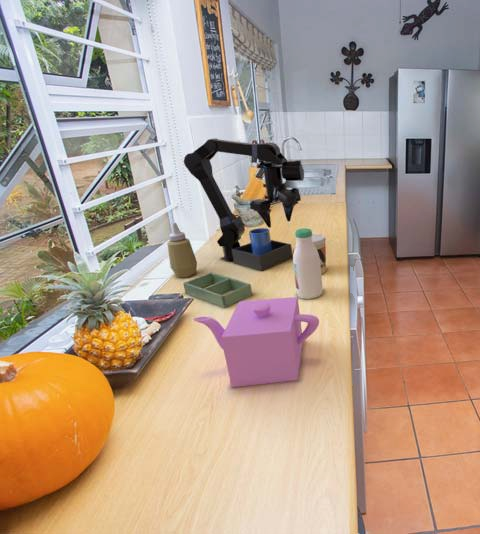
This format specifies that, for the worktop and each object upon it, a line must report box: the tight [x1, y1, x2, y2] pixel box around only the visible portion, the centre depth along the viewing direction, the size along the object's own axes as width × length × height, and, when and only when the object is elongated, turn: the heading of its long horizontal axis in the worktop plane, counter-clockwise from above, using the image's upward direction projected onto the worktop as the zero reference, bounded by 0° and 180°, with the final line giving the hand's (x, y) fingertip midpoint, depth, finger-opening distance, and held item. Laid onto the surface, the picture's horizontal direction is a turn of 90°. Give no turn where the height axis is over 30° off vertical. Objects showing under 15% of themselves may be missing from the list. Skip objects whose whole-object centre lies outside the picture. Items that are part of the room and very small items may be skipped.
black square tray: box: [232, 239, 293, 272], centre depth 141 cm, size 15×15×6 cm
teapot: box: [193, 296, 320, 388], centre depth 83 cm, size 15×25×14 cm, turn 99°
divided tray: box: [183, 271, 253, 309], centre depth 116 cm, size 19×10×4 cm, turn 59°
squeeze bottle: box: [167, 222, 198, 278], centre depth 128 cm, size 8×8×18 cm
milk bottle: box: [292, 227, 324, 300], centre depth 113 cm, size 8×8×20 cm
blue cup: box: [248, 227, 272, 255], centre depth 140 cm, size 7×7×11 cm
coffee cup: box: [312, 233, 327, 275], centre depth 131 cm, size 9×9×12 cm
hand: (279, 224), depth 140 cm, fingers open, 9 cm apart
